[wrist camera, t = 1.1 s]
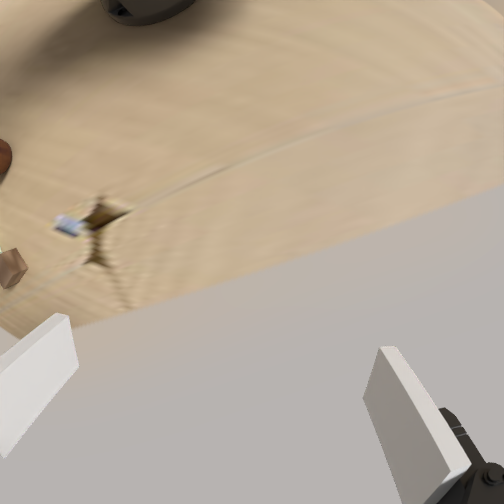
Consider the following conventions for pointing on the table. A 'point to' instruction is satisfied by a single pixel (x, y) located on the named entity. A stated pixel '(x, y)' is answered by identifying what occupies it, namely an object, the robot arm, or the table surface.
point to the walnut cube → (11, 268)
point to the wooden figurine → (4, 156)
